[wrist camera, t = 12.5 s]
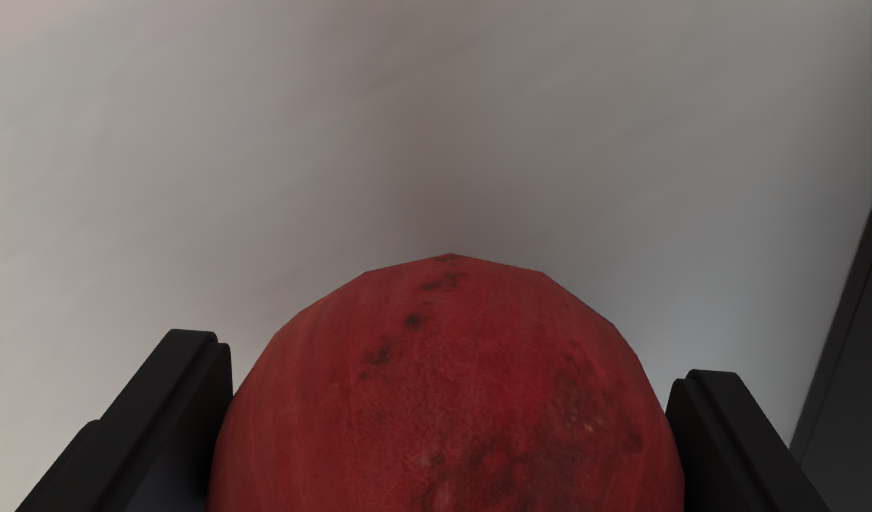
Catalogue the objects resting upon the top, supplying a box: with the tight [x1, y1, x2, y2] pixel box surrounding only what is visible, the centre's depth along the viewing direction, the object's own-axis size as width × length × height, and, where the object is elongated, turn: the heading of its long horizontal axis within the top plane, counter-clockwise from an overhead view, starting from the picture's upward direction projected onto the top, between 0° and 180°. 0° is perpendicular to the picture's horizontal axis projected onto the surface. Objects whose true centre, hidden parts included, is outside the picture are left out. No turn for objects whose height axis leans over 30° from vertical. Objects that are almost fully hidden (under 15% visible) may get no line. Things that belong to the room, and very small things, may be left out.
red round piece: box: [203, 253, 685, 512], centre depth 9 cm, size 6×6×8 cm
